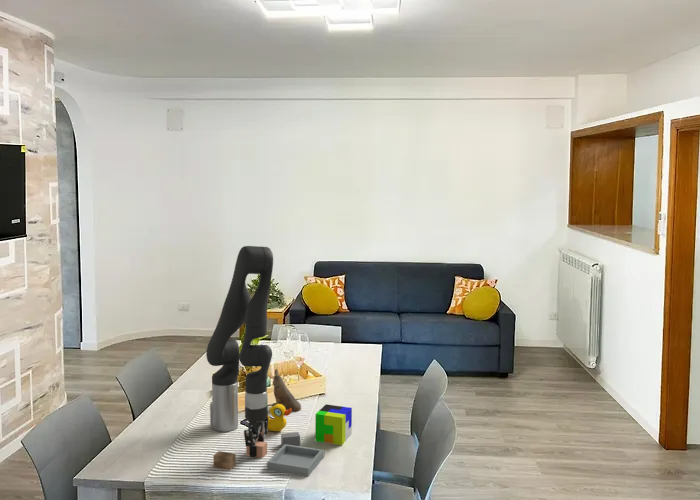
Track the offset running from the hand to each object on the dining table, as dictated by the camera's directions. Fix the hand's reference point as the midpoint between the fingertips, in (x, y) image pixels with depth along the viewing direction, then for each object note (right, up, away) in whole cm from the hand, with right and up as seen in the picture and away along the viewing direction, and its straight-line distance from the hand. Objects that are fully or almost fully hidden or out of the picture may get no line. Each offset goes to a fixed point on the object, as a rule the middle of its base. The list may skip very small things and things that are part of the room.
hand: (256, 452), depth 211 cm
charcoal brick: (+11, 0, +7) cm, 13 cm away
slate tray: (+14, -2, -6) cm, 15 cm away
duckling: (+4, +1, +20) cm, 20 cm away
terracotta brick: (0, -1, 0) cm, 1 cm away
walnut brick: (-9, -2, -9) cm, 13 cm away
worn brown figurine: (+6, +4, +41) cm, 42 cm away
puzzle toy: (+25, +1, +14) cm, 29 cm away
